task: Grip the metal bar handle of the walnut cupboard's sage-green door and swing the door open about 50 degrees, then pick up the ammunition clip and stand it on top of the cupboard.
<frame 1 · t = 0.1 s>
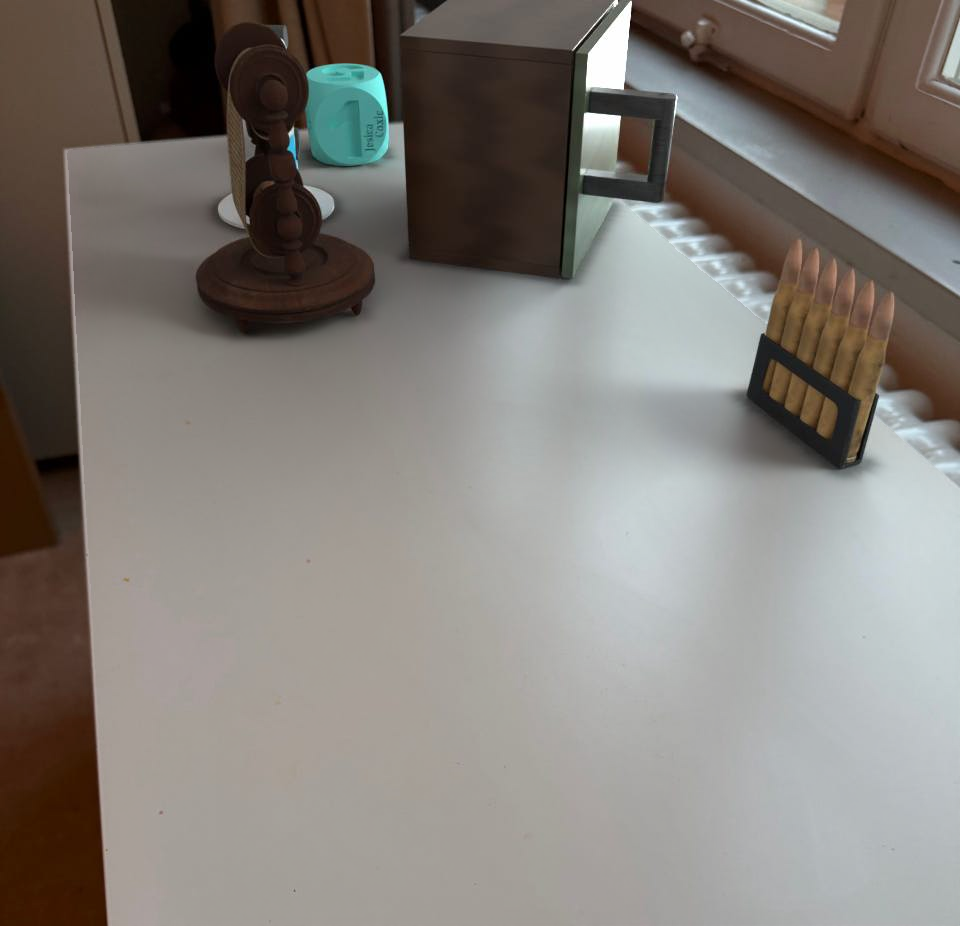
dark brown piece: (289, 301, 88), on the table
cupboard: (509, 230, 99), on the table
decorative dice: (349, 155, 114), on the table
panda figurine: (276, 211, 102), on the table
cupboard door: (634, 142, 90), point 9 cm above the table, hinge at 0.0°
ammunition clip: (800, 430, 73), on the table
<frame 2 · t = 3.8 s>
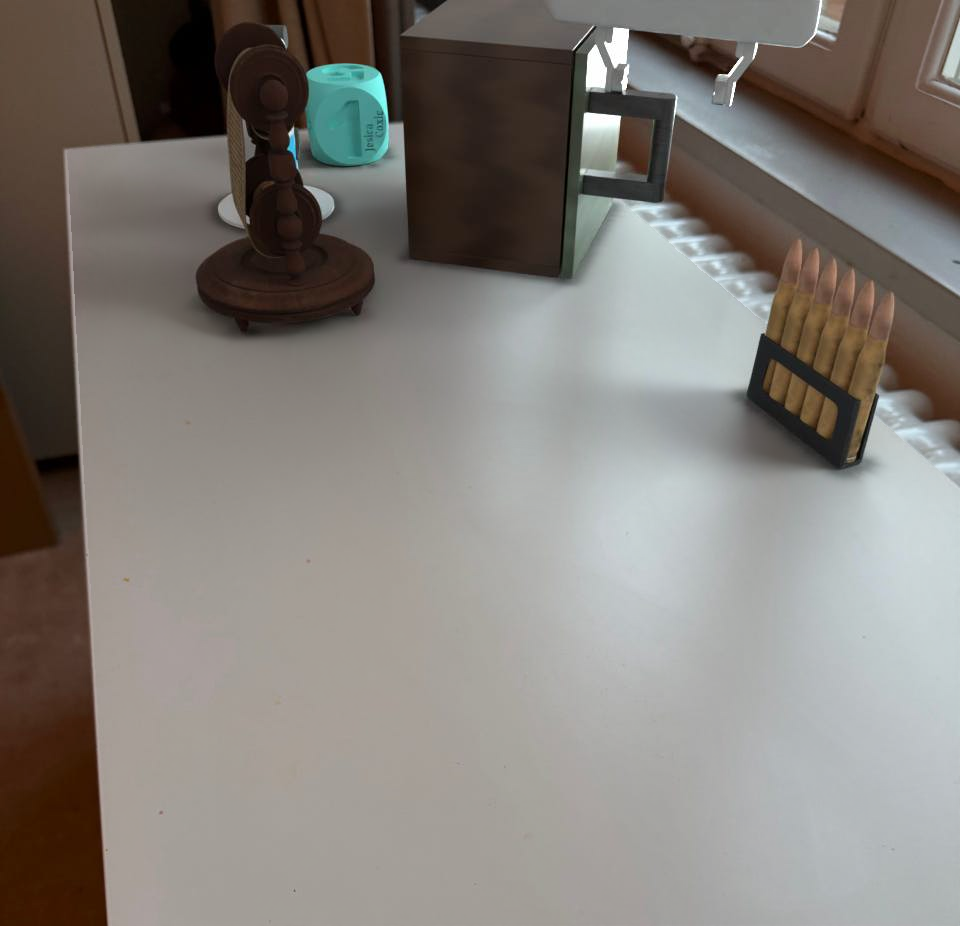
hand: (667, 97, 81), 15 cm above the table, tool pointing down, fingers open, 7 cm apart
cupboard door: (634, 142, 90), point 9 cm above the table, hinge at 0.0°, touching gripper
everything else where it was.
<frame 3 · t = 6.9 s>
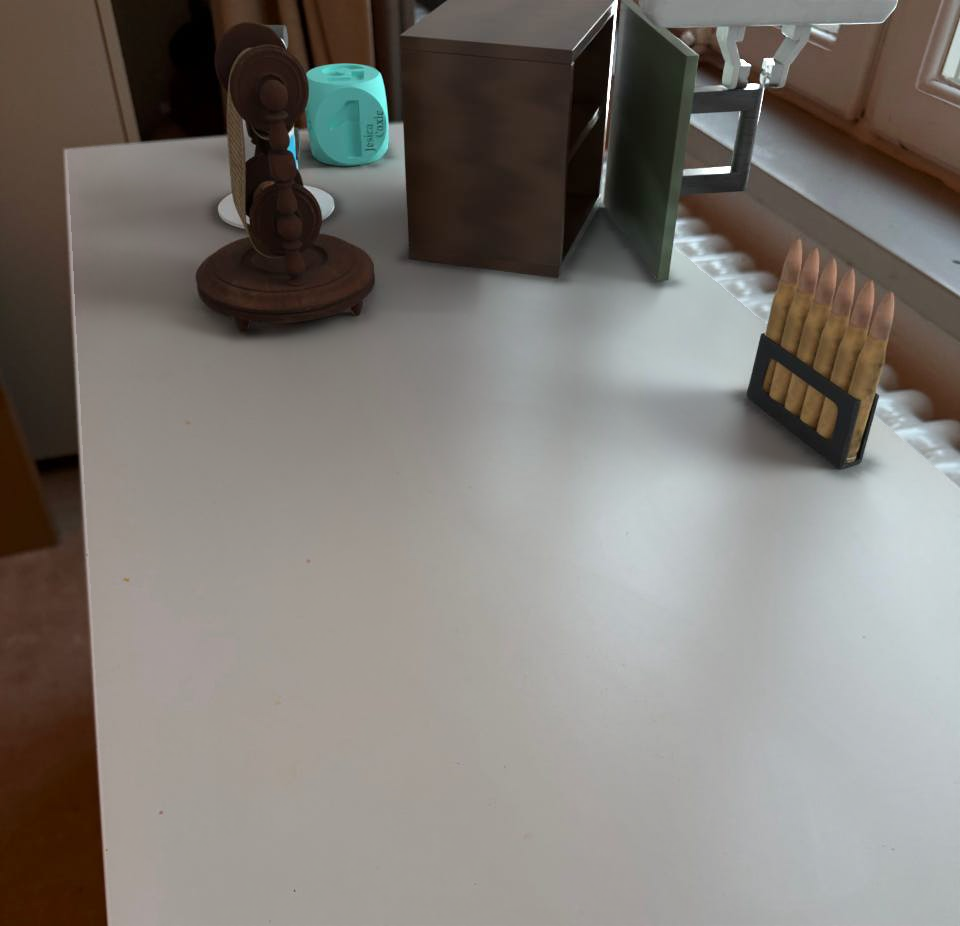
hand: (752, 86, 83), 15 cm above the table, tool pointing down, fingers closed, pressing on cupboard door
cupboard door: (681, 137, 91), point 9 cm above the table, hinge at 27.0°, touching gripper
everything else where it was.
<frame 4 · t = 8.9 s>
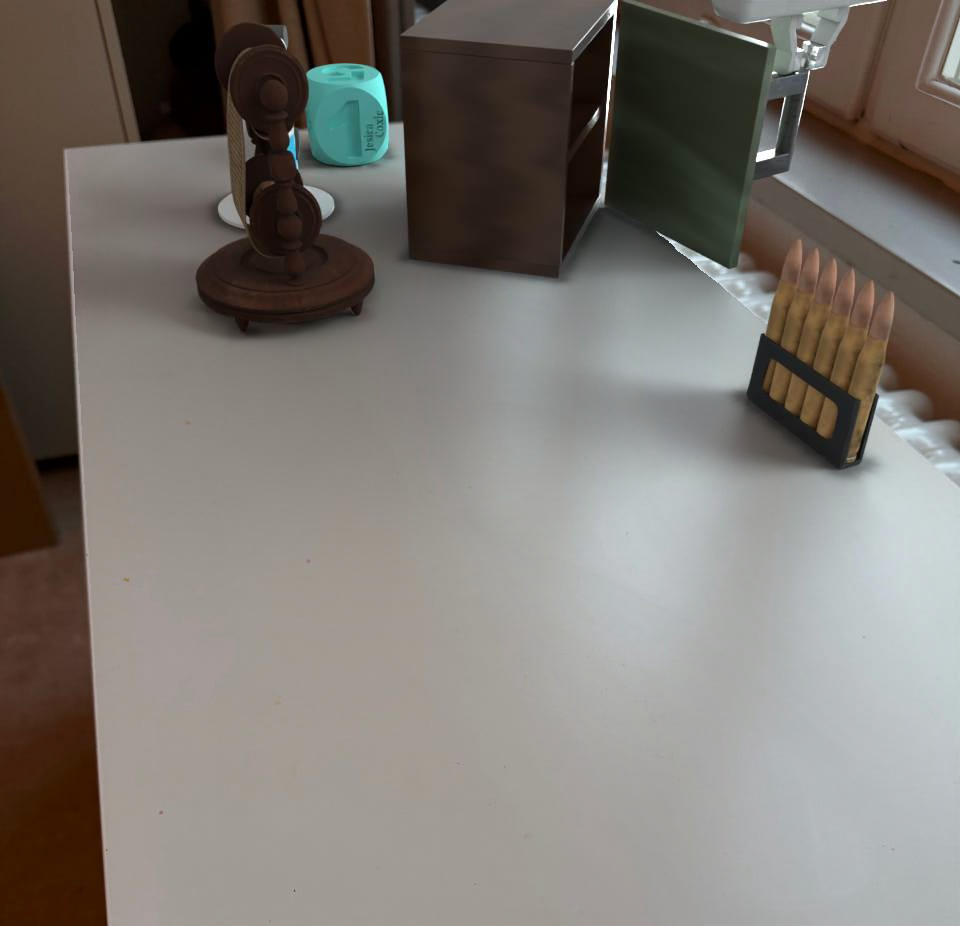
hand: (798, 70, 86), 15 cm above the table, tool pointing down, fingers closed, pressing on cupboard door
cupboard door: (708, 128, 93), point 9 cm above the table, hinge at 49.9°, touching gripper
everything else where it was.
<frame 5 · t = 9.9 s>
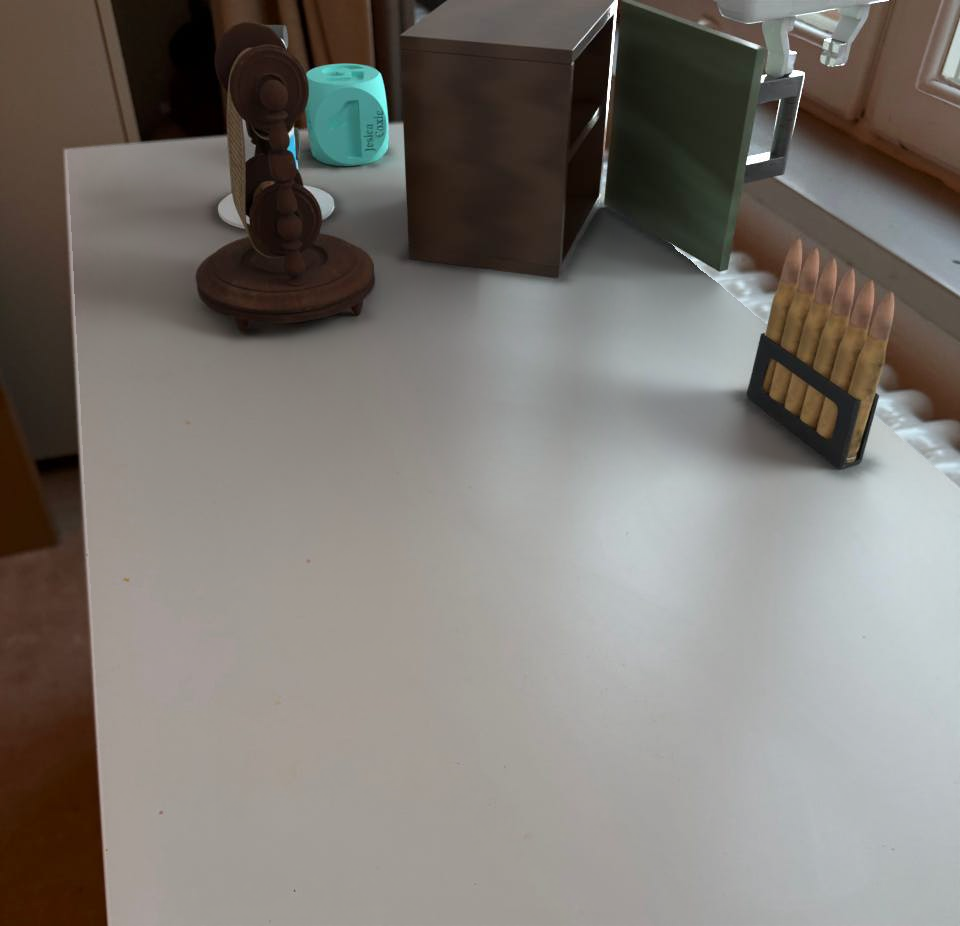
hand: (805, 69, 87), 15 cm above the table, tool pointing down, fingers open, 5 cm apart
cupboard door: (705, 130, 93), point 9 cm above the table, hinge at 46.3°, touching gripper
everything else where it was.
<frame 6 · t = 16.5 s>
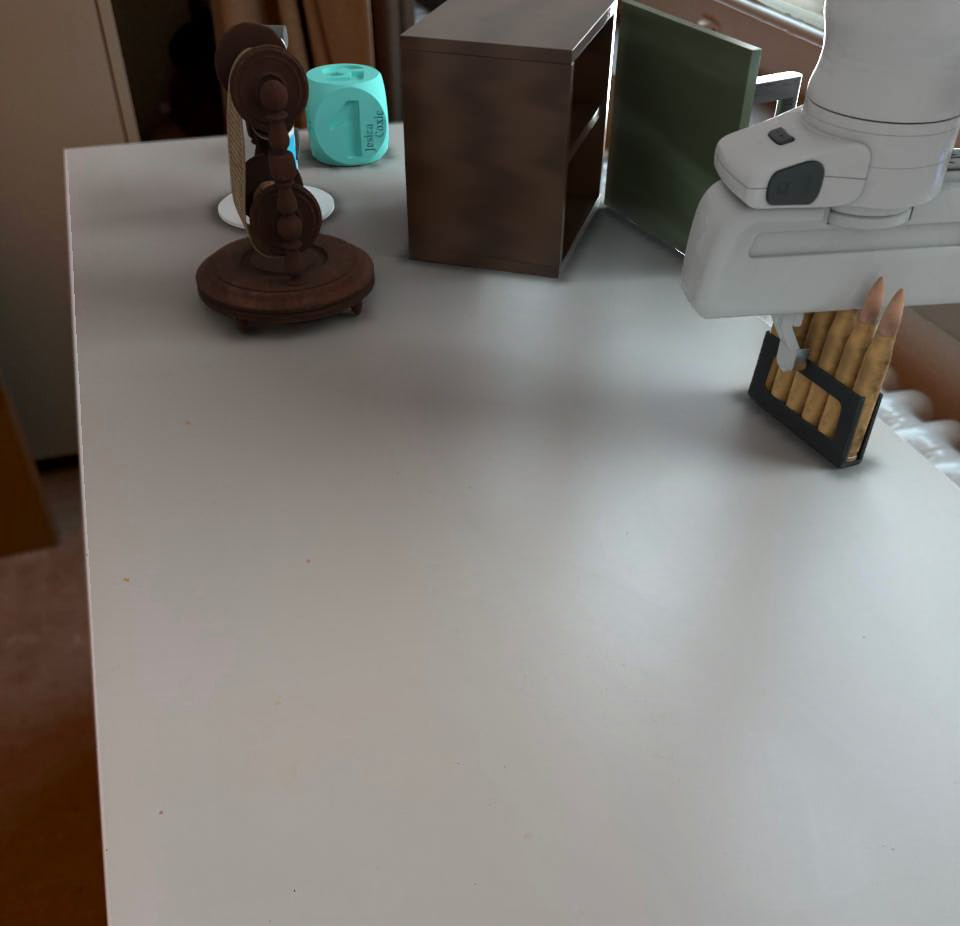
hand: (816, 365, 71), 5 cm above the table, tool pointing down, fingers closed on ammunition clip, 2 cm apart
cupboard door: (703, 130, 93), point 9 cm above the table, hinge at 44.8°
ammunition clip: (800, 429, 73), on the table, touching gripper
everything else where it was.
when the fingers open (23 cm above the table, at t = 25.8 s): ammunition clip stays where it is, resting on cupboard.
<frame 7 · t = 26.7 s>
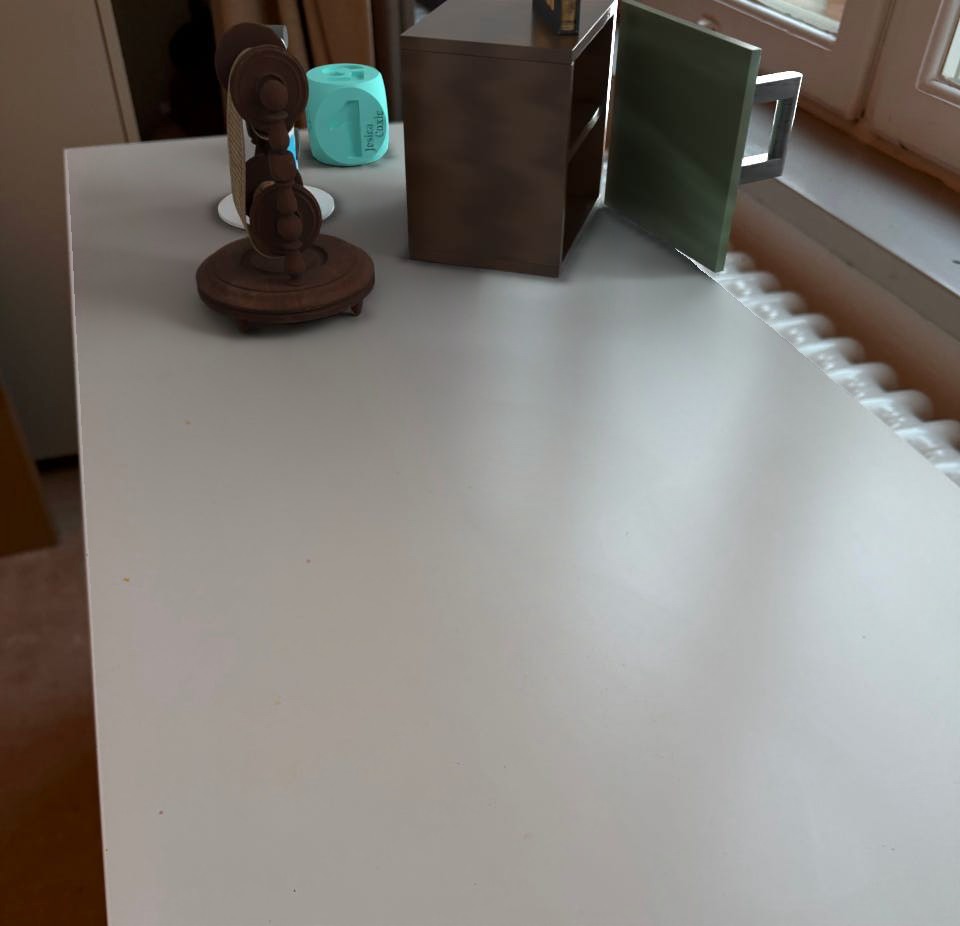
ammunition clip: (554, 20, 86), point 18 cm above the table, touching cupboard
everything else where it was.
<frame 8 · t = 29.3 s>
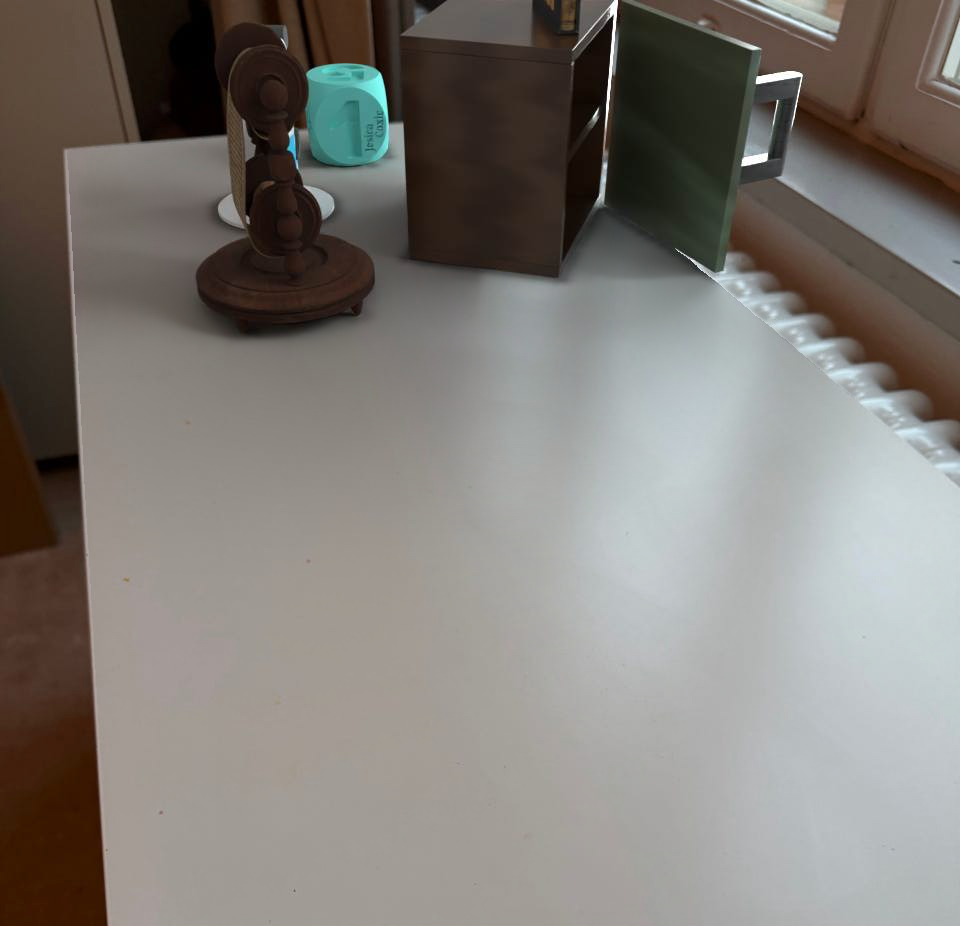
nothing on the table moved.
at the end: cupboard door at +45° (first picture: +0°); ammunition clip inside the target area on the cupboard (1.0 cm from its centre), point 17.8 cm above the cupboard's base; ammunition clip tilted 0° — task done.
